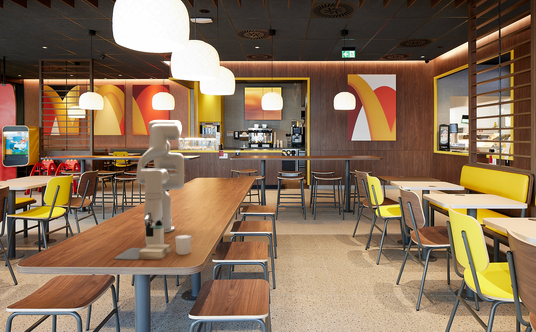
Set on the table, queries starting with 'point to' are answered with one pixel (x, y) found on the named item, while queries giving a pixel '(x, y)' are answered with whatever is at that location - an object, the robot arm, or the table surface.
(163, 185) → the robot arm
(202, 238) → the table surface
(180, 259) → the table surface
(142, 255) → the birch step
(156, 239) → the cream block
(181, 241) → the pale pink cylinder
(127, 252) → the grey mat
